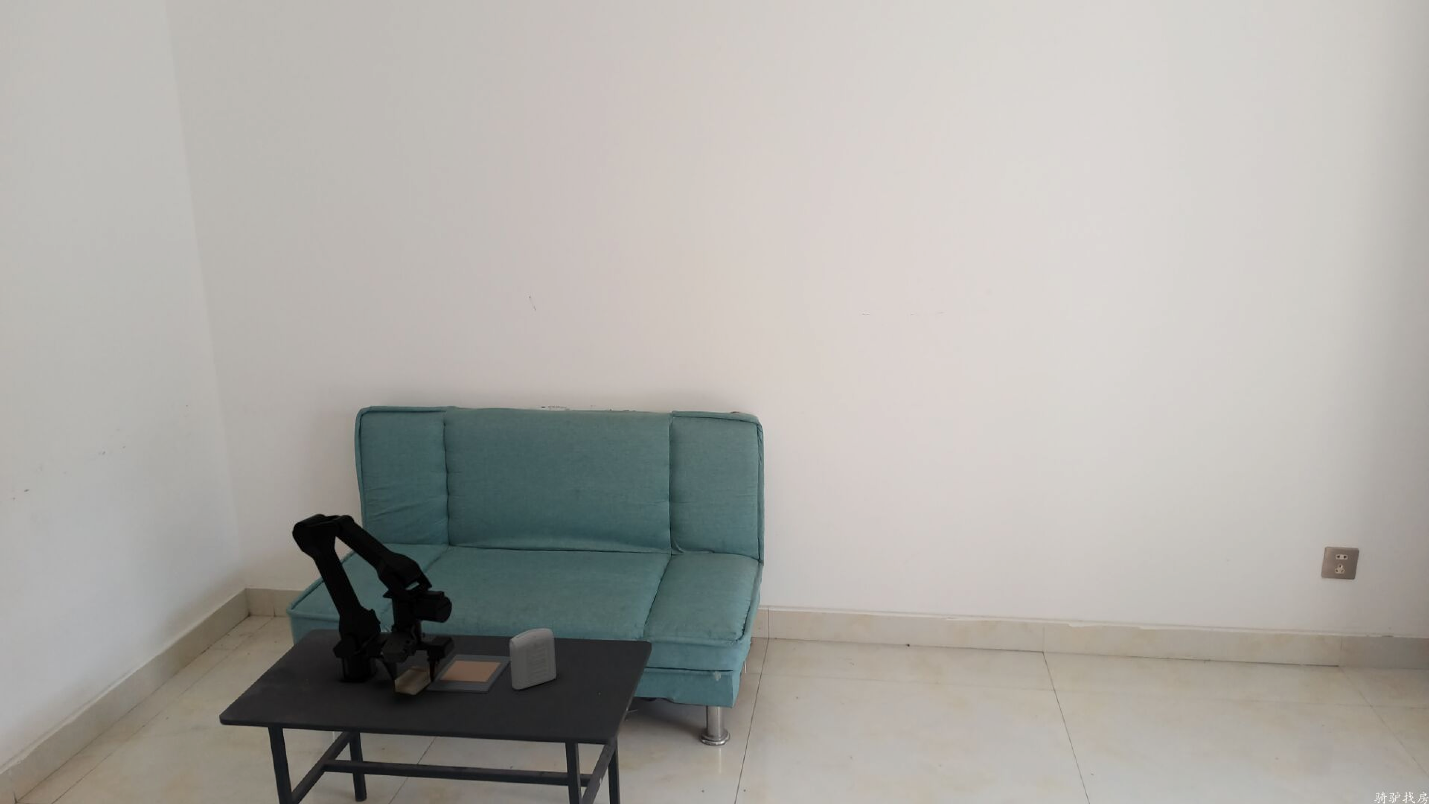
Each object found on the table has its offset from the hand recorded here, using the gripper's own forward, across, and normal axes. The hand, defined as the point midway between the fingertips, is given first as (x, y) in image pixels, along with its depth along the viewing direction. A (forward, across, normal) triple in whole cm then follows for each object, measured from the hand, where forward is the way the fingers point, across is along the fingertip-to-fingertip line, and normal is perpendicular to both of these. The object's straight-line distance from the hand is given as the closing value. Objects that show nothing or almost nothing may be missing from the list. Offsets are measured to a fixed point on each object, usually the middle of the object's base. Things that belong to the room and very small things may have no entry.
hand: (413, 680), depth 212 cm
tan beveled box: (+1, 0, 0) cm, 1 cm away
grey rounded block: (+1, +27, +4) cm, 27 cm away
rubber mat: (+1, +11, +6) cm, 13 cm away
